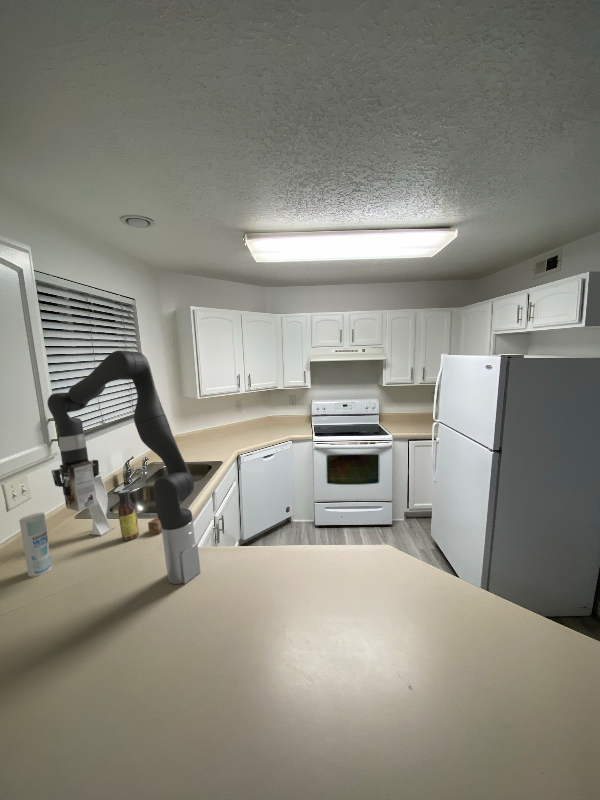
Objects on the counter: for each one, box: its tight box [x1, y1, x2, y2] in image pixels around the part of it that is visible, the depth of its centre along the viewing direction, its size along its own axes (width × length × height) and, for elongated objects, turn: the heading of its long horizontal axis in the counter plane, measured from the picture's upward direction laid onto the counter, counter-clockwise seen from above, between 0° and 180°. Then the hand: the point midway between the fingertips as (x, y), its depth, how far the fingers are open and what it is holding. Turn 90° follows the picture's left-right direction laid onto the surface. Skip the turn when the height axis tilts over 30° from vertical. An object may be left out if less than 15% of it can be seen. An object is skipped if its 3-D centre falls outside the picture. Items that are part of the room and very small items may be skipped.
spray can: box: [19, 512, 52, 578], centre depth 103 cm, size 6×6×20 cm
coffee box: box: [59, 462, 97, 512], centre depth 107 cm, size 9×6×16 cm
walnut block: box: [147, 516, 162, 535], centre depth 126 cm, size 5×5×5 cm
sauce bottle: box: [117, 489, 140, 542], centre depth 122 cm, size 7×6×20 cm
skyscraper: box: [88, 469, 114, 537], centre depth 129 cm, size 8×8×28 cm
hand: (80, 492), depth 107 cm, fingers closed on coffee box, 6 cm apart
